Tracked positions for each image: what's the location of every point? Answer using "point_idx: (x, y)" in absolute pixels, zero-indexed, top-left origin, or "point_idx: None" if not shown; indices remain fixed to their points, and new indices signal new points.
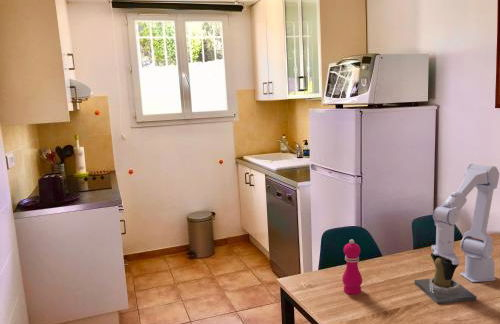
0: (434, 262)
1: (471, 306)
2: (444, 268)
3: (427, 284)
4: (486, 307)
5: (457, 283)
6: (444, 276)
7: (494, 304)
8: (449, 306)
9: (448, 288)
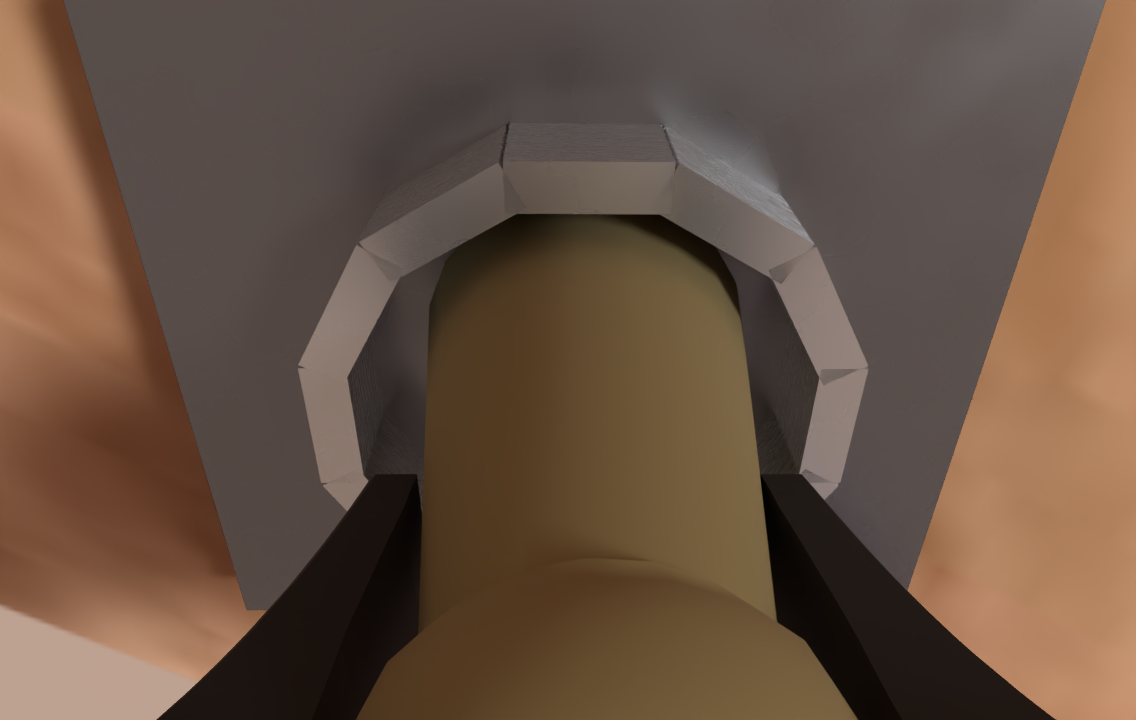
0: (963, 674)
1: (84, 440)
2: (241, 716)
3: (789, 152)
4: (83, 572)
5: None
6: (425, 508)
7: (175, 666)
8: (29, 141)
9: (306, 376)
